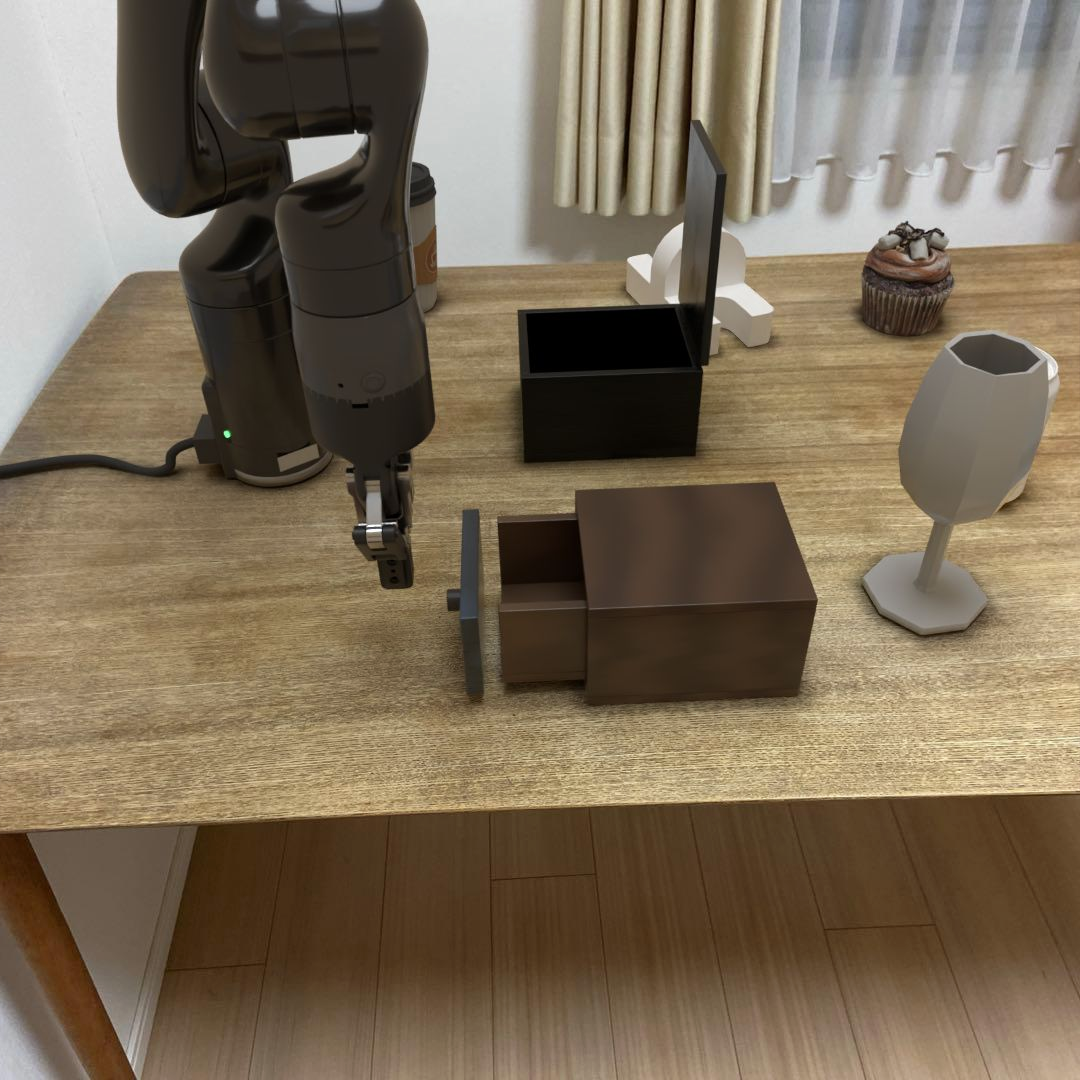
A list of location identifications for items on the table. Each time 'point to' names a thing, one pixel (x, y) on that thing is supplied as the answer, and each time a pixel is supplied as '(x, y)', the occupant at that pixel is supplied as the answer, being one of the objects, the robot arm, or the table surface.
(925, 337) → the table surface
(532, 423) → the metal box
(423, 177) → the coffee cup
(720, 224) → the lid
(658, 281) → the white slotted bracket
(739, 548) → the drawer cabinet
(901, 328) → the cupcake
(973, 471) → the wineglass
